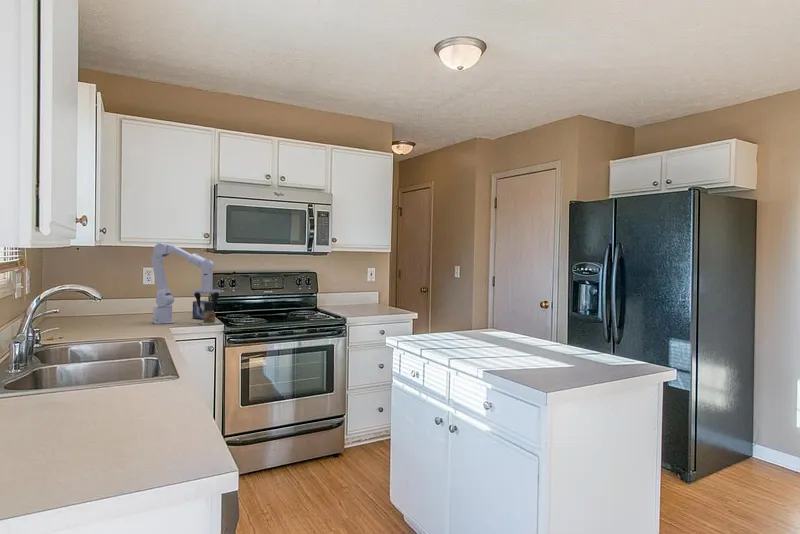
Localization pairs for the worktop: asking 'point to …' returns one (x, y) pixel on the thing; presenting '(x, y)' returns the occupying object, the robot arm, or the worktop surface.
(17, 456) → the worktop surface
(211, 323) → the plate
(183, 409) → the worktop surface
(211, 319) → the walnut cube
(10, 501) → the worktop surface
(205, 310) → the small box
